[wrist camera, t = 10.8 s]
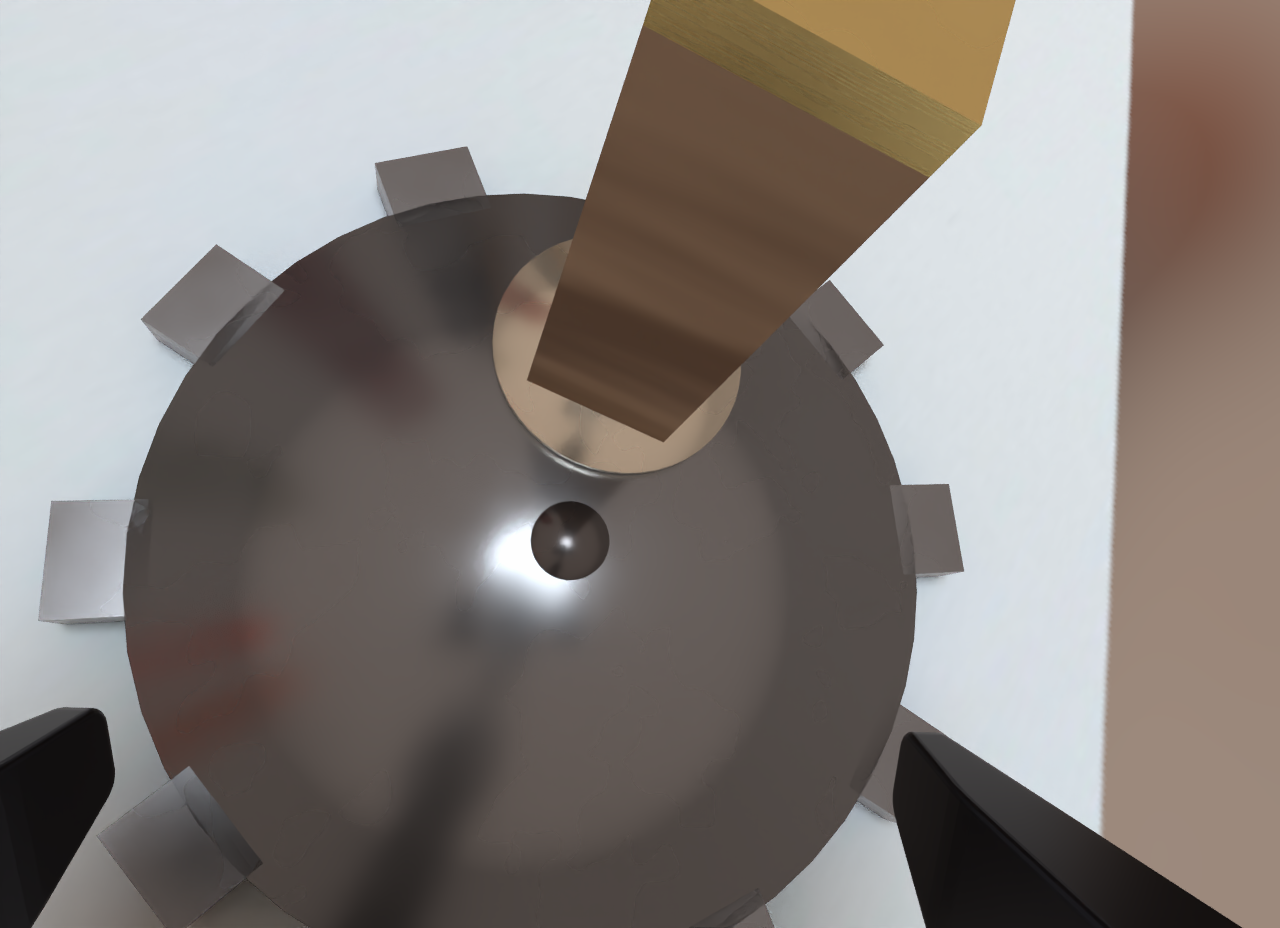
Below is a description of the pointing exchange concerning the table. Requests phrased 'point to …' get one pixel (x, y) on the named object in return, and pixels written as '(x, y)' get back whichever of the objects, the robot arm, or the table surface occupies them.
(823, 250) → the gold-topped wooden block
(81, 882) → the table surface
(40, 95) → the table surface
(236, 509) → the sprocket plate
